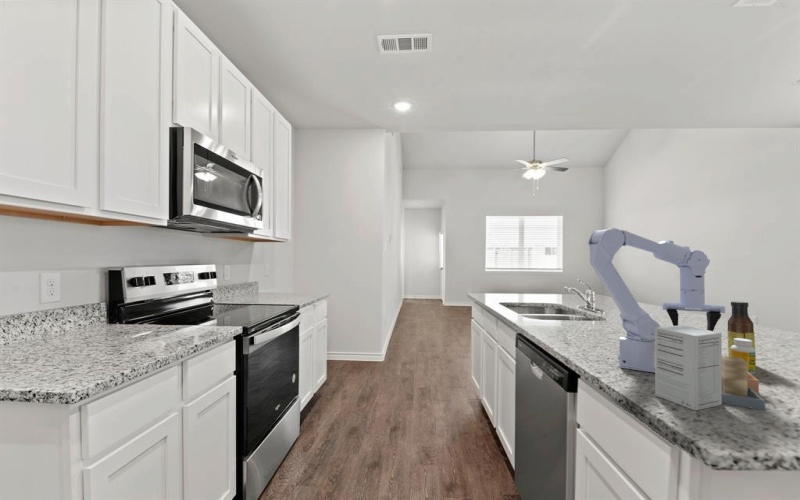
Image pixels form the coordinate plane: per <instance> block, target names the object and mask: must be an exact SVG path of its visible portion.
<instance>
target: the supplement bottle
mask: <svg viewBox="0 0 800 500" xmlns="http://www.w3.org/2000/svg"><path fill="white" fill-rule="evenodd" d="M734 344H735V345H732V346H731V357H735V358H742V359H743V360H745V361H746V362H747V371H748V372H749V373H750V374H752V375H755V374H756V370H757V369H756V367H757V365H756V364H757V363H756V360H757V359H756V357H757V356H756V353H757V352H756V348H755V349H754V348H752V347H751V346H752V345H753V344H752V340H748V339H742V338H734Z"/></svg>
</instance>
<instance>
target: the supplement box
mask: <svg viewBox="0 0 800 500" xmlns="http://www.w3.org/2000/svg"><path fill="white" fill-rule="evenodd" d="M722 335H723V334H722V332H718V331H714V330H713V331H709V330H707V329H703V328H697V327H692V326H688V325H682V324H681V325H680V324H678V326H673V325H670V326H668V325H667V326H660V327H659V328H655V373H654V378H655V379H654V381H655V382H654V383H655V384H654V386H655V387H654V388H655V389H654V390H655V391H654V392H655V393H654V394H655V396H657V397H658V398H662V399H664V400H667V401H670V402H671V403H675V404H677V405H679V406H683V407H684V408H688V409H691V410H692V411H695V412H697V411H700V410H704V409H709V408H712V407H713V408H714V407H718V406H722V404H723V403H722V365H721V362H722V356H723V355H722V354H723V353H722V352H723V351H722V350H723V349H722V346H723V345H722V344H723V343H722V341H723V340H722V337H723V336H722Z"/></svg>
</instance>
